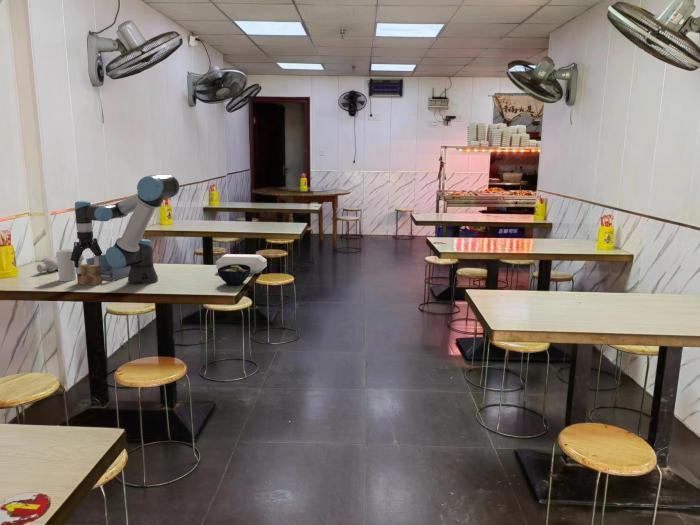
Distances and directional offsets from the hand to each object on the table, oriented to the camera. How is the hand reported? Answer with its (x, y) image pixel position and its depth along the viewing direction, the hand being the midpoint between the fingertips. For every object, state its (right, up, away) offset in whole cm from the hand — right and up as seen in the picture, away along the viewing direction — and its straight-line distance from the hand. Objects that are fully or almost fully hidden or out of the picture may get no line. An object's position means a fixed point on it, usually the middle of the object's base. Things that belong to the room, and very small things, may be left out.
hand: (88, 270), depth 286 cm
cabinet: (+4, -3, +18) cm, 19 cm away
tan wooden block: (0, -7, +1) cm, 7 cm away
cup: (-16, -5, +10) cm, 19 cm away
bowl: (+77, -7, +2) cm, 78 cm away
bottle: (-33, 0, +35) cm, 48 cm away
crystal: (+75, -1, +31) cm, 81 cm away
